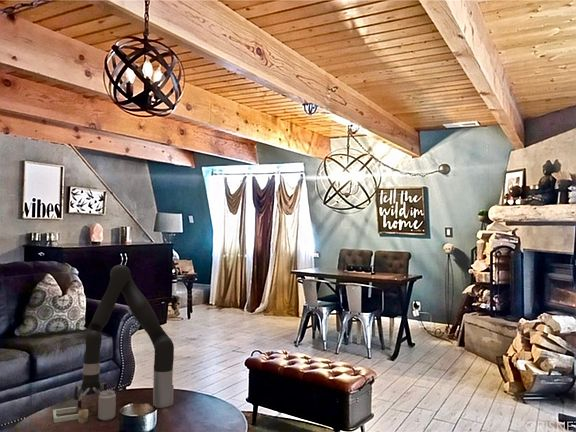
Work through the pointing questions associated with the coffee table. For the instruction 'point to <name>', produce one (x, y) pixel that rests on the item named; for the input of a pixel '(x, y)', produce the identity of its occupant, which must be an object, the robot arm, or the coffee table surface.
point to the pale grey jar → (106, 405)
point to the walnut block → (91, 408)
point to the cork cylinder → (83, 416)
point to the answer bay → (65, 418)
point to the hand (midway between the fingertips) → (89, 406)
